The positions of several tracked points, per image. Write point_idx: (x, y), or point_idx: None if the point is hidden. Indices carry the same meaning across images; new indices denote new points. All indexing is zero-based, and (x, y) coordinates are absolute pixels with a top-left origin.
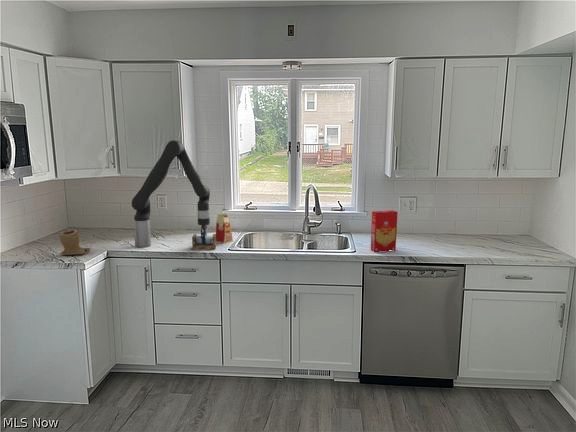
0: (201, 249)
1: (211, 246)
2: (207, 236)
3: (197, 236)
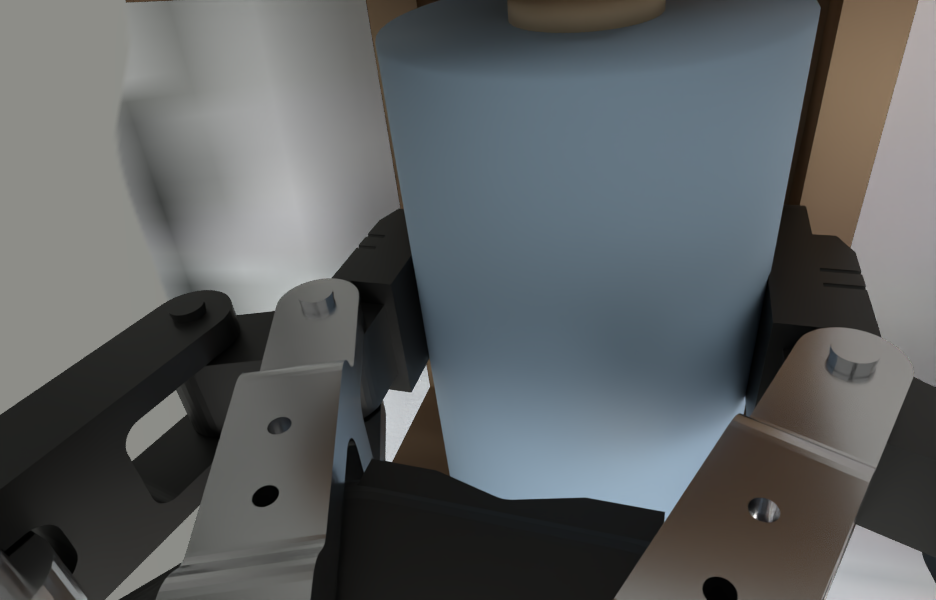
0: None
1: (430, 366)
2: (500, 493)
3: (470, 114)
